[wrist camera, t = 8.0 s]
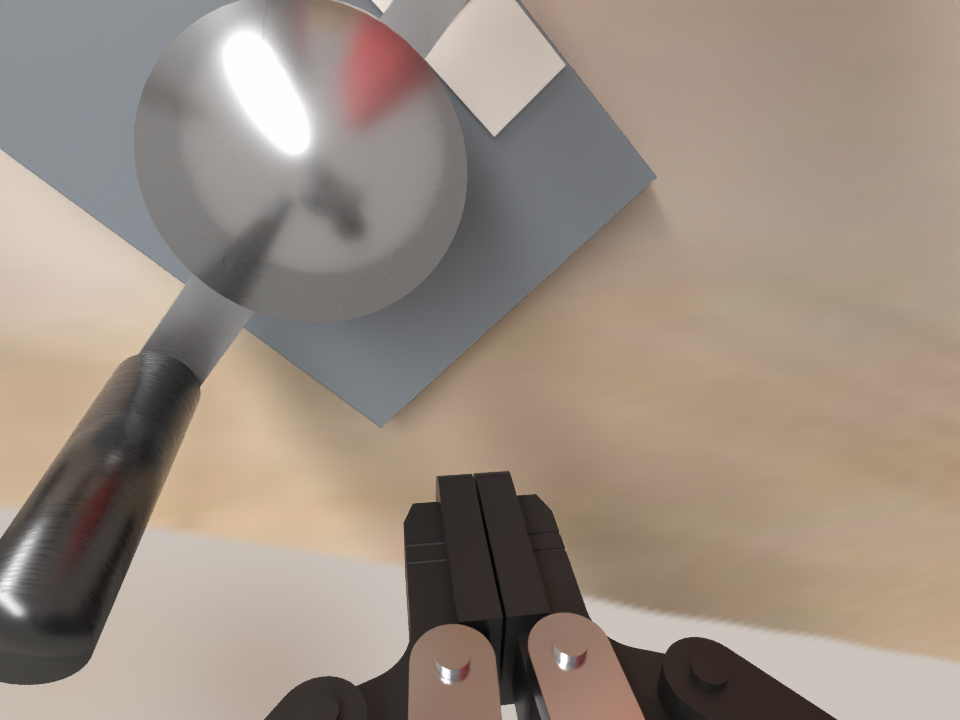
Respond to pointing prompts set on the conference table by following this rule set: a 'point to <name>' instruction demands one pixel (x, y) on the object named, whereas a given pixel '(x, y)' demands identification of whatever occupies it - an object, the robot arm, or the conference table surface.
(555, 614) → the robot arm
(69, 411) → the conference table surface
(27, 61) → the stand
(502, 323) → the conference table surface
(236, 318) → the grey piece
